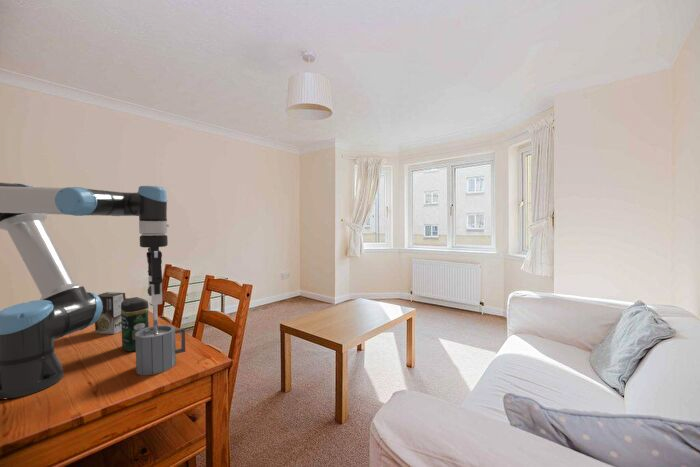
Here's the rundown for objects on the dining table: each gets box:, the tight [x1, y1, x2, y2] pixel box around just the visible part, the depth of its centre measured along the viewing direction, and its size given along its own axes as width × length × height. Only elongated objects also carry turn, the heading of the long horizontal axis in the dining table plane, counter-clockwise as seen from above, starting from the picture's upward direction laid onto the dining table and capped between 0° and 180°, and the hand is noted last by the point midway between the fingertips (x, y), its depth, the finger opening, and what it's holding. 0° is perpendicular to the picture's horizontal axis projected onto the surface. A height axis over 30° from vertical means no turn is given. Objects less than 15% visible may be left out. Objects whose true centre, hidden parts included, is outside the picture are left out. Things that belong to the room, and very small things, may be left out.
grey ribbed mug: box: [135, 324, 186, 376], centre depth 99 cm, size 14×11×12 cm
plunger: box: [141, 285, 169, 336], centre depth 97 cm, size 8×8×17 cm
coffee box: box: [94, 291, 126, 335], centre depth 128 cm, size 9×6×16 cm
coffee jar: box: [121, 296, 150, 352], centre depth 112 cm, size 10×8×19 cm
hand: (155, 299), depth 97 cm, fingers open, 13 cm apart
